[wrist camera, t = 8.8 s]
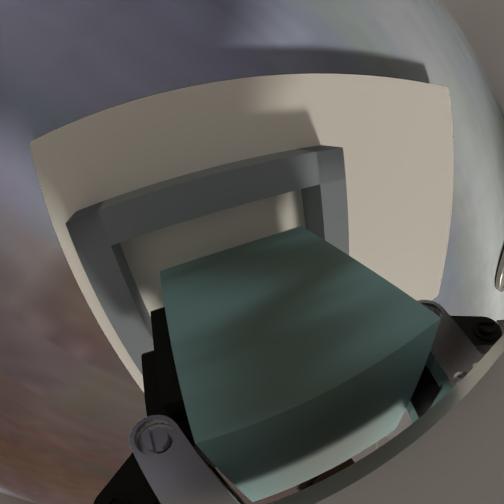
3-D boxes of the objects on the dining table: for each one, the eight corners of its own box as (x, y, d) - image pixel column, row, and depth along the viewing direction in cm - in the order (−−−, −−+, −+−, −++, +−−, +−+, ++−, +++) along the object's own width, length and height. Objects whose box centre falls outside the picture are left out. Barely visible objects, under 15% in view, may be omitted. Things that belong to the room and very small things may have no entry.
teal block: (301, 225, 10) (440, 318, 5) (310, 330, 12) (395, 428, 7) (159, 271, 9) (194, 443, 3) (202, 372, 11) (252, 502, 6)
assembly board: (431, 87, 13) (467, 88, 11) (425, 287, 21) (450, 303, 18) (42, 141, 8) (11, 143, 6) (164, 405, 15) (172, 442, 13)
